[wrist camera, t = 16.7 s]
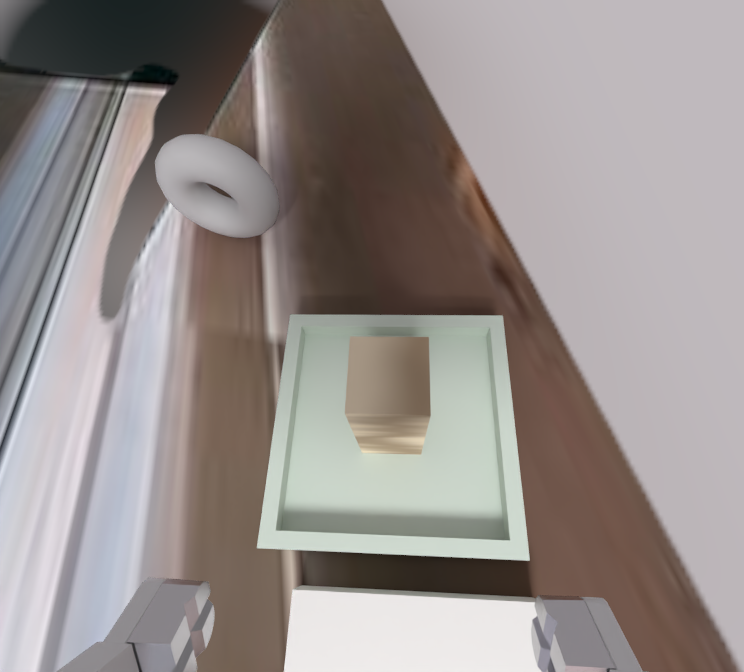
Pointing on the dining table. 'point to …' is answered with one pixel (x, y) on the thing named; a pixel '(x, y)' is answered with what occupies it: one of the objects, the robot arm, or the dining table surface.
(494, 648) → the pocket plate
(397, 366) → the maple block
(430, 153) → the dining table surface
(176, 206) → the donut
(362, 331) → the tray
